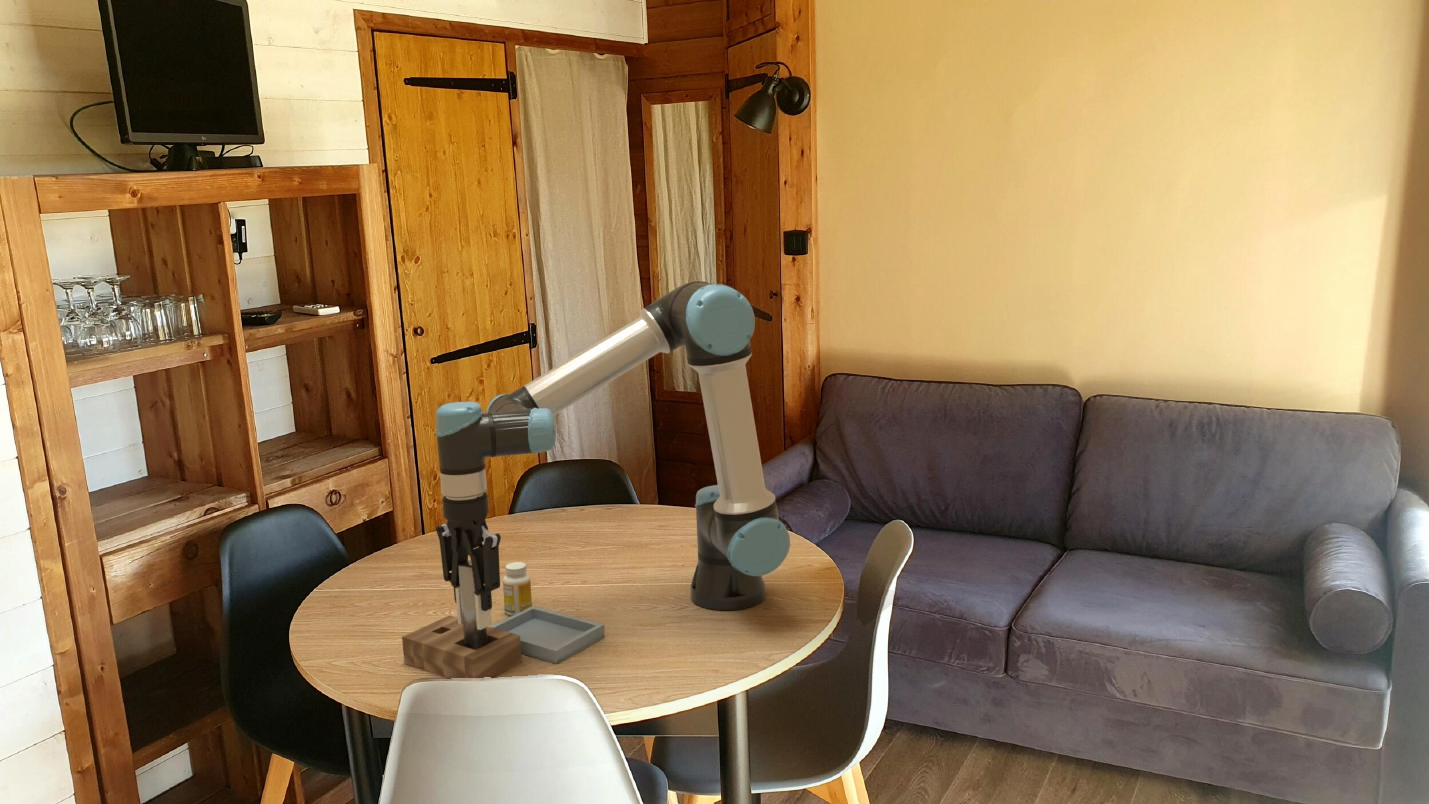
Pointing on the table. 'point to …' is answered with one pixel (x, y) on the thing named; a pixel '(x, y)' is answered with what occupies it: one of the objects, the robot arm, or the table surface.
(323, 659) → the table surface
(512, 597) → the supplement bottle
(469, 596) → the cylinder
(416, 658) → the wooden peg board
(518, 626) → the tray
